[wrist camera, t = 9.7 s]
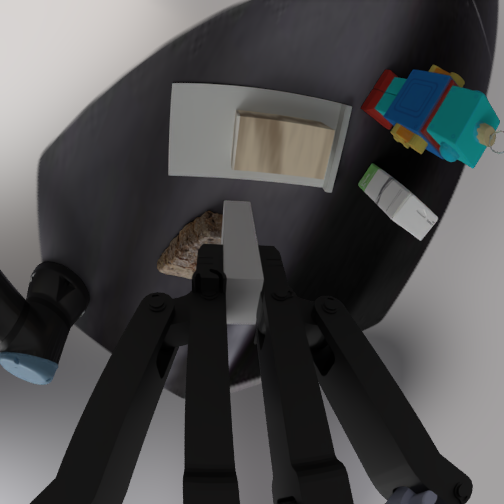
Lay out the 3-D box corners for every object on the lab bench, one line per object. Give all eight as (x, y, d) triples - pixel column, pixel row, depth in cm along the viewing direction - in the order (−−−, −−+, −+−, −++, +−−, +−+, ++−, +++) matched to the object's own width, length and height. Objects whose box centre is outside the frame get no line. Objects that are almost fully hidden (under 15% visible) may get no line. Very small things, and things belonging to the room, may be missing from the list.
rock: (205, 199, 43) (203, 216, 39) (253, 233, 48) (257, 253, 43) (155, 259, 49) (150, 280, 45) (200, 285, 54) (199, 307, 49)
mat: (168, 174, 40) (166, 179, 38) (172, 83, 32) (170, 83, 30) (327, 187, 44) (331, 192, 42) (346, 104, 36) (352, 106, 34)
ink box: (356, 184, 44) (389, 220, 34) (372, 161, 41) (410, 192, 32) (387, 206, 47) (421, 242, 37) (403, 185, 44) (440, 218, 35)
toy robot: (378, 135, 39) (491, 211, 19) (351, 114, 36) (469, 178, 16) (412, 83, 33) (538, 126, 13) (386, 59, 31) (520, 83, 11)
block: (231, 169, 34) (323, 179, 36) (237, 116, 30) (335, 130, 32) (230, 156, 39) (311, 164, 41) (235, 109, 35) (320, 121, 37)
